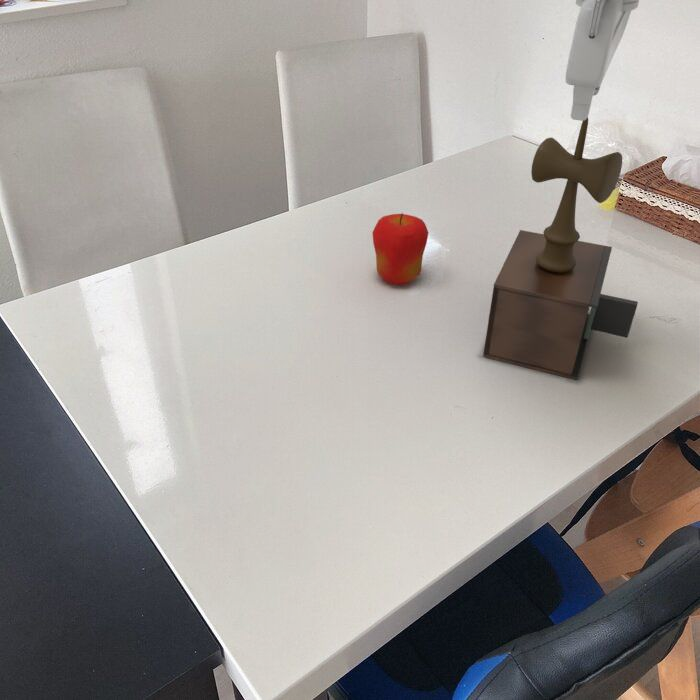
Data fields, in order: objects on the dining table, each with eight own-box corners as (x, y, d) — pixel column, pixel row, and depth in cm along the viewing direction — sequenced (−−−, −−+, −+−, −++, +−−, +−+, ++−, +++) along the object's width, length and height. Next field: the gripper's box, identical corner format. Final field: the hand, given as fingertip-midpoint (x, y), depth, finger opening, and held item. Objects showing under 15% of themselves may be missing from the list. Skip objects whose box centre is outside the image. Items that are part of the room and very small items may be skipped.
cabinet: (593, 317, 102) (612, 246, 95) (577, 380, 91) (597, 305, 83) (508, 298, 106) (520, 229, 99) (482, 356, 95) (493, 283, 87)
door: (630, 316, 101) (649, 254, 95) (624, 348, 95) (644, 283, 89) (591, 308, 103) (607, 246, 97) (583, 338, 97) (600, 275, 90)
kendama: (579, 287, 87) (616, 133, 74) (511, 263, 92) (536, 114, 79) (598, 268, 90) (637, 118, 78) (532, 246, 95) (559, 101, 83)
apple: (427, 267, 114) (432, 202, 107) (421, 294, 107) (426, 227, 100) (376, 262, 115) (378, 197, 108) (367, 288, 109) (368, 221, 101)
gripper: (637, -10, 61) (602, 139, 70) (652, -43, 76) (622, 84, 85) (566, -16, 63) (540, 131, 72) (594, -47, 78) (570, 78, 87)
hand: (585, 105), depth 78 cm, fingers open, 8 cm apart
